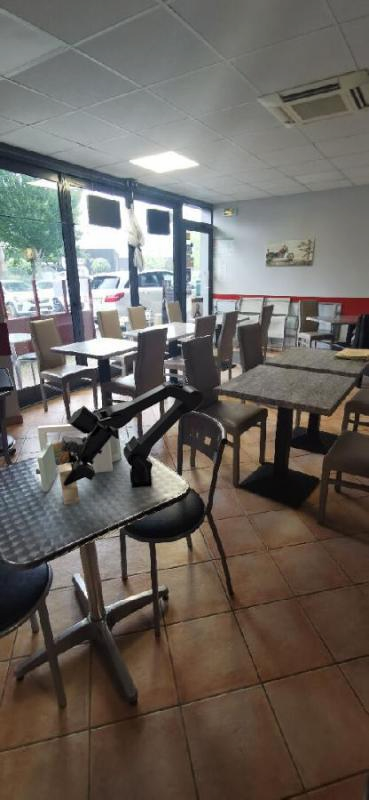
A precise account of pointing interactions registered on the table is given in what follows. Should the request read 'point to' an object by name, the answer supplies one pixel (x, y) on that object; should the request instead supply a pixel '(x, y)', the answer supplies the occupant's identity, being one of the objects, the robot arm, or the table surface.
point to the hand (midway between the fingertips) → (63, 480)
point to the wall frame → (101, 460)
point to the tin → (60, 453)
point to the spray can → (113, 443)
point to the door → (47, 466)
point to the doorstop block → (70, 490)
